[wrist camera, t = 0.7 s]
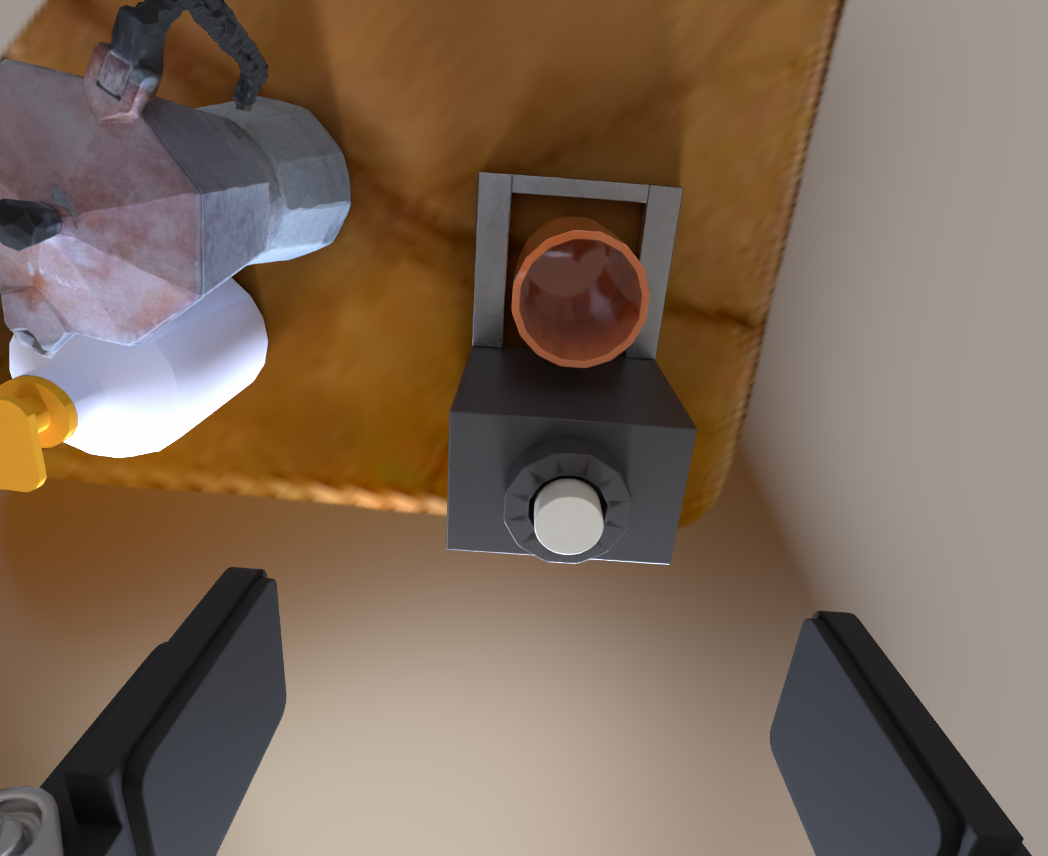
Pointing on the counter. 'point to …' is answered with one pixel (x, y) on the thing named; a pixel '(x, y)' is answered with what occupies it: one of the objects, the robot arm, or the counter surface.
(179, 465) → the counter surface
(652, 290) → the cup bay
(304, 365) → the counter surface
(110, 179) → the moka pot
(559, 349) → the cup
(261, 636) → the robot arm
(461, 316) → the counter surface
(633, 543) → the grey box with dial
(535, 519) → the brew button
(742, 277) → the counter surface
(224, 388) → the soap bottle
